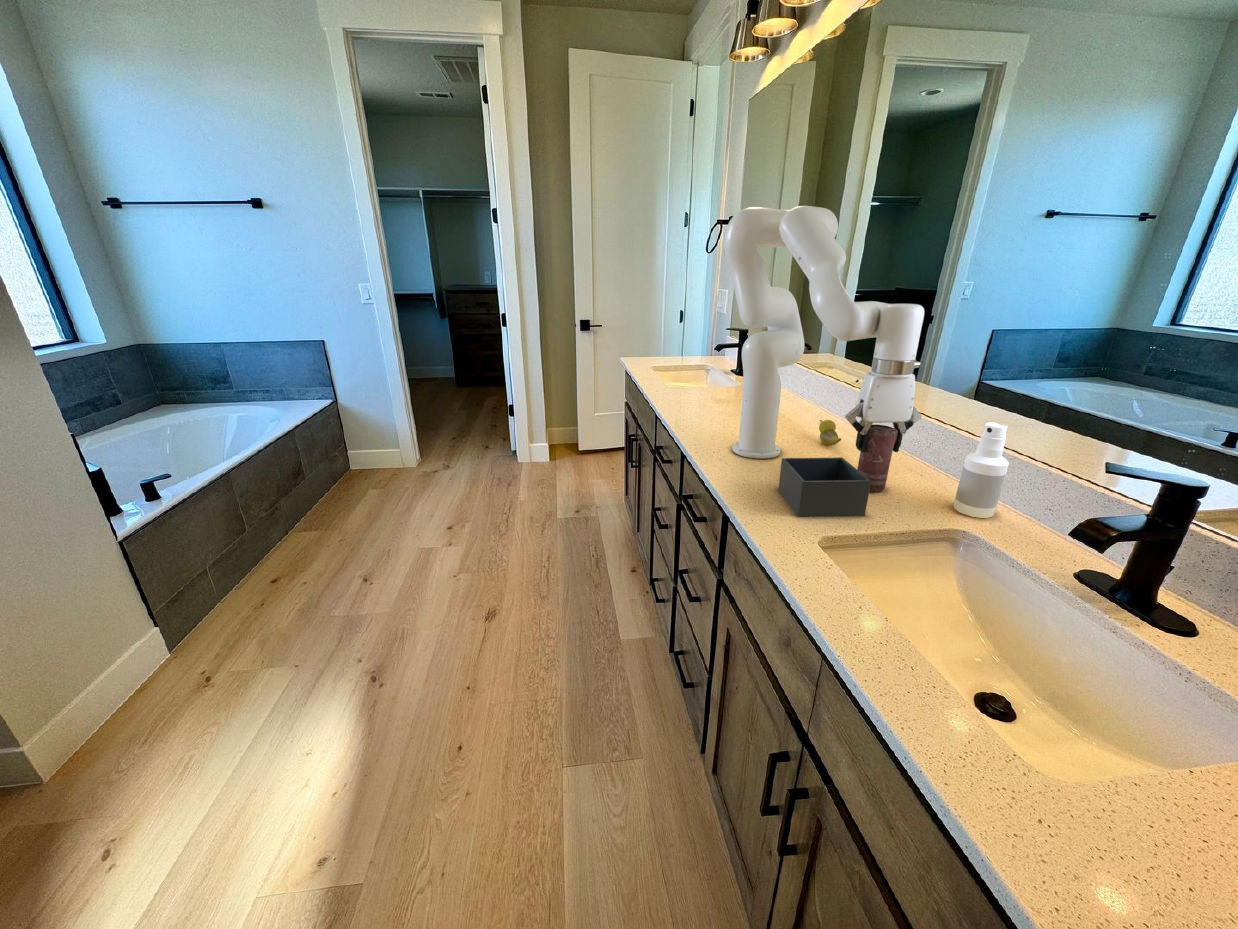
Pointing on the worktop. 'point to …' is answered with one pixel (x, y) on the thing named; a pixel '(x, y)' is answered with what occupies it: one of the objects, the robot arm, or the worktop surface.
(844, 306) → the robot arm
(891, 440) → the can
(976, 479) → the spray bottle
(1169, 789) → the worktop surface
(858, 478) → the bin
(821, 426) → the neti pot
